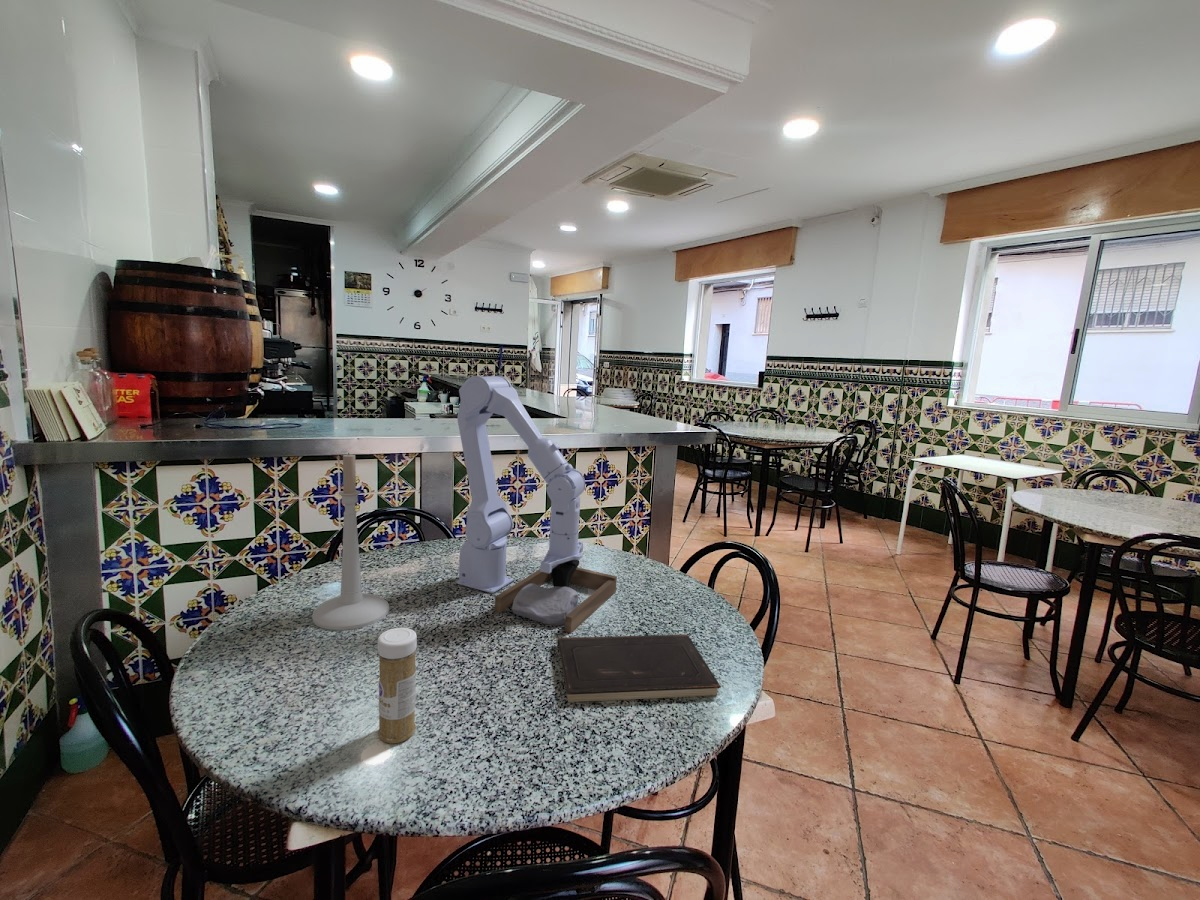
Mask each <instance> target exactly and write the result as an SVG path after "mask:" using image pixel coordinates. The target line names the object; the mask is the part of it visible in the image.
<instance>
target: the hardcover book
mask: <svg viewBox="0 0 1200 900" xmlns="http://www.w3.org/2000/svg"><path fill="white" fill-rule="evenodd" d="M556 646H557V647H558V649H559V656H560V662H561V667H562V673H563V680H564V686H565V691H566V697H567V703H575V702H576V703H578V702H579V703H580V702H599V701H600V702H601V701H603V702H604V701H621V700H622V701H623V700H639V699H640V700H641V699H643V700H645V699H662V698H664V699H665V698H666V699H667V698H685V697H703V696H704V697H705V696H709V697H710V696H718V693H719V690H718V689H721V688H722V685H721V684H720V683H719V682H718V680H717V679H716V676H715V675H714V674H713V672H712V671H711V668H710V667H709V665H708V664H707V662H706V661H705V660H704V657H702V655H701V653H700V652H699V650H698V648H697V647H696V646H695V643H694V642H693V641H692V639H691V637H690V636H689V635H688V634H661V635H660V634H656V635H655V634H654V635H653V634H651V635H623V636H622V635H617V636H616V635H615V636H613V635H612V636H586V637H585V636H579V637H575V636H574V637H557V644H556Z"/></svg>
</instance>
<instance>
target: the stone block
mask: <svg viewBox="0 0 1200 900" xmlns="http://www.w3.org/2000/svg"><path fill="white" fill-rule="evenodd" d="M578 603H579V593H578V592H577V591H576V589H573V588H571V587H570V586H569V587H557V586H556V587H554V586H553V587H545V586H537V585H536V584H528V585H526V586H525V587H524V588H522V589H521V590H520V592H519V593H518V594H517V595H516V597H515V598H514V601H513V605H511V607H512V613H513V614H515V615H517V616H520V617H523V618H527V619H530V620H533V621H535V622H538V623H543V624H546V625H549V626H551V625H552V626H556V625H557V626H558V625H561V626H563V625H565V621H566V616H567V615H568V614H569V613H570V612H571V611H572V610H574V609H575V608H576V607H577V606H578Z"/></svg>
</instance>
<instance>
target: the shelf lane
mask: <svg viewBox="0 0 1200 900" xmlns="http://www.w3.org/2000/svg"><path fill="white" fill-rule="evenodd" d="M550 580H552V578H551V575H550V573H545V572H541V571H540V568H539V569H538V570H536V571H535V572H533V573H531V574H529V575H528V576H526V577H525V578H523V579H522V580H520V581H518V582H516V583H515V584H513V585H512V586H510V587H509V588H507V589H505V590H504V591H502V592H501V593H499V594H497V595H495V597H494V612H496V613H499V614H501V613H502V612H504V611H505V610H507V609H509V608H510V607H512V605H513V601H514V598H515V597H516V595H517V594H518V593H519V592H520V590H521V589H522V588H524V587H525V586H526V585H528V584H536V585H537V586H539V587H542V585H544V584H545V583H547V582H548V581H550ZM617 580H618V577H617V576H616V575H612V574H607V573H603V572H600V571H599V572H598V571H596V570H591V569H586V568H582V567H579V566H578V567H577V568H576V570H575V572H574V574H573V577H572V579H571V583H570V585H571V584H572V585H575V586H579V587H584V588H587V589H592V590H595V591H594V592H593V593H591V594H590V595H588V597H587V598H585V599H584V600H583V601H582V602H580V603H579V604H577V607H576V608H575V609H574V610H572V611H571V612H570V613H569V614H568V615H567V616H566V621H565V624H564V632H565V633H568V634H572V633H573V632H574V631H575V630H576V629H577V628H579V627H580V625H582V624H583V623H584V622H586V620H587V619H588V618H590V616H592V614H594V613H595V612H596V611H597V610H599V608H600V607H602V605H604V604H605V603H606V601H608V600H609V599H610V598H611V597H612V596H613V595H614V594H616V593H617V591H616V590H617Z"/></svg>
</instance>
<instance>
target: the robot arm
mask: <svg viewBox="0 0 1200 900" xmlns="http://www.w3.org/2000/svg"><path fill="white" fill-rule="evenodd" d="M458 393H459V398H460V401H459V406H458V407H459V408H458V412H457V424H458V430H459V436H460V442H461V447H462V452H463V458H464V462H465V468H466V475H467V480H468V484H469V485H468V486H469V491H470V495H471V503H470V505H469V507H468V508H467V511H466V514H465V515H466V516H465V517H466V525H465V529H464V531H465V536H466V539H467V540H466V541H464V543H463V544H462V546H461V547H460V551H459V555H458V556H459V558H458V559H459V560H458V561H459V562H458V564H459V565H458V566H459V567H458V580H457V581H456V584H458V585H461V586H464V587H469V588H471V589H476V590H478V591H479V590H480V591H483V592H487V593H490V594H494V593H495V592H498V591H499V590H501V589H503V588H504V587H505V586H507V585H508V584H510V583H512V582H514V578H513V577H509V576H506V575H507V571H506V569H507V546H508V545H507V544H508V542H507V541H508V535H509V534H510V533H511V532H512V530H513V528H514V520H513V517H512V515H511V513H510V511H509V510H508V507H507V503H506V501H505V500H504V499H502V498H501V497H500V496H499V491H498V486H497V479H496V476H495V475H496V474H495V470H494V464H493V458H492V452H491V446H490V442H489V440H490V439H489V435H488V431H487V422H488V421H489V419H491V417H492V416H493V414H496V415H499V416H502V417H504V418H505V420H506V421H508V423H509V424H510V425H511V426H512V428H513V429H514V431H515V432H516V433H517V434H518V435H519V437H520V438H521V439H522V441H523V442H524V443H525V445H526V446H527V447H528V449H527V457H528V459H529V460H530V461H531V463H532V464H533V466H534V467H535V469H536V470H537V471H538V473H539V474H540V476H541V477H542V479H543V480H544V482H545V483H546V484H547V486H545V487H546V489H545V490H546V494H547V496H548V498H549V500H550V504H551V505H550V521H549V522H550V523H549V524H550V525H549V543H548V550H547V553H546V554H545V557H544V558H543V560H541V561H540V568H539V569H540V571H541V572H545V573H550V575H551V578H552V579H551V581H552V586H553V587H556V586H557V587H569V588H570V585H571V579H572V577H573V574H574V572H575V570H576V568H577V567H578V568H579V565H580V560H582V558H583V554H582V552H584V542H582V541H579V532H580V531H579V530H580V529H579V528H580V512H581V510H580V509H581V507H580V505H581V504H580V503H581V495H582V494H583V493H584V491H585V490H586V489H585V488H586V480H585V478H584V477H585V476H583V473H582V471H580V470H579V469H576V468H574V467H573V466H572V464H571V463H569V462H568V461H567V460H566V458H565V457H564V455H563V454H562V453H561V451H560V450H559V449H560V448H561V447H560V445H559V444H558V443H557V442H554V441H553V440H552V439H550V438H545V437H543V435H542V433H540V430H539V429H538V427H537V426H536V424H535V423H534V421H533V419H532V418H531V416H530V415H529V413H528V411H527V410H526V408H525V407H524V404H523V403H522V402H521V399H520V398H519V394H518V391H517V389H516V388H514V387H513V385H512V384H511V381H509V380H508V378H507V377H505V376H503V375H493V376H492V375H489V376H488V375H487V376H480V375H473V376H470V377H468V378H466V380H465V382H464V383H463V384H462V385H461V386H460V388H459V390H458Z"/></svg>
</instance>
